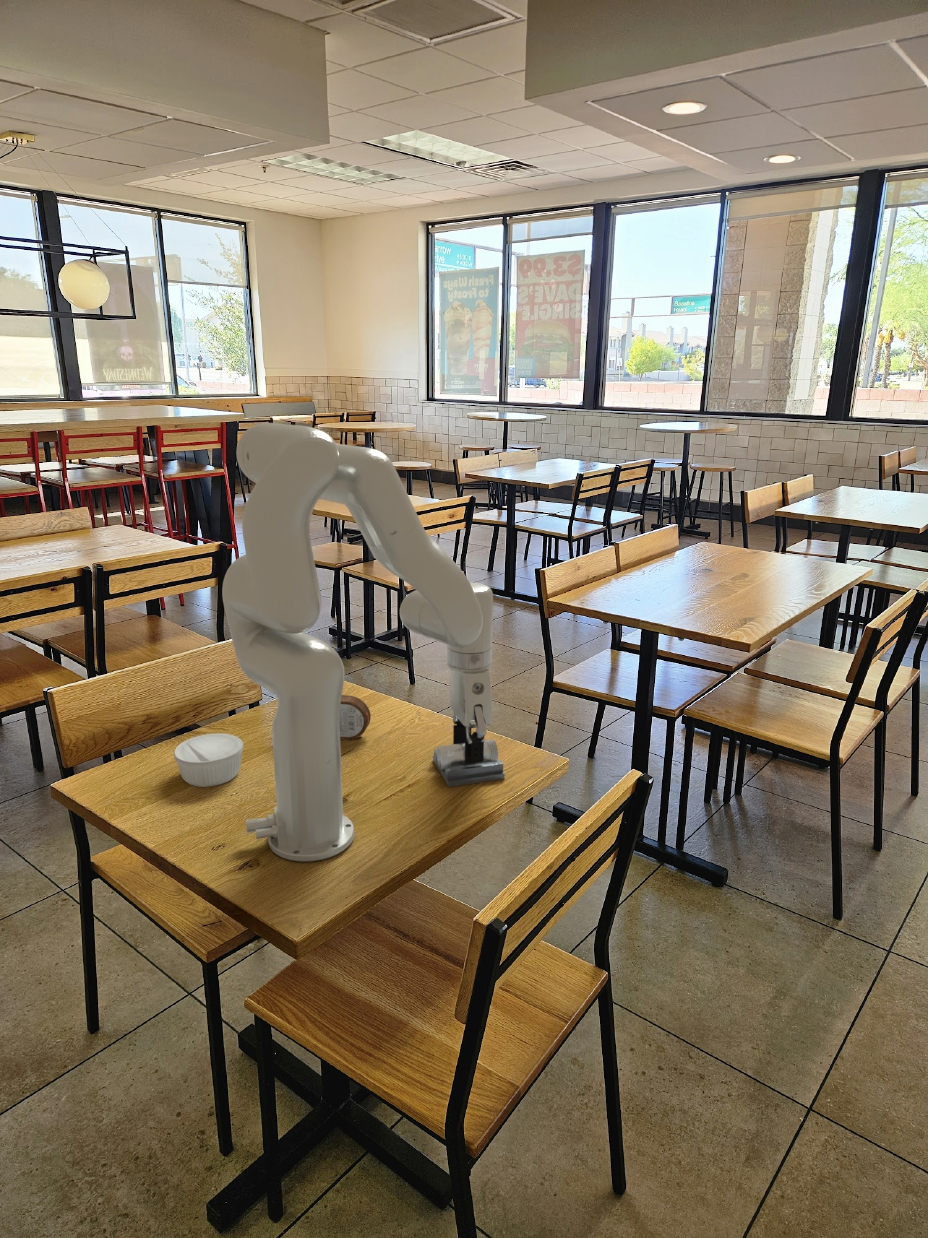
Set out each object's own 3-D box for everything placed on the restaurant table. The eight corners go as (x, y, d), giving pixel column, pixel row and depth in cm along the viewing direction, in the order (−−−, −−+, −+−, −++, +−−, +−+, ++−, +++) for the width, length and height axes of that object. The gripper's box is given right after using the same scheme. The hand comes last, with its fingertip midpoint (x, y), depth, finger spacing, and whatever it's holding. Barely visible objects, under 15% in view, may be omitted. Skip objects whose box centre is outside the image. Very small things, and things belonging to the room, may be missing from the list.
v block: (448, 787, 136) (448, 773, 135) (432, 760, 145) (432, 747, 144) (504, 778, 139) (504, 765, 138) (485, 753, 148) (485, 740, 147)
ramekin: (163, 784, 136) (159, 756, 134) (202, 755, 146) (199, 729, 144) (221, 795, 133) (218, 766, 131) (257, 765, 143) (255, 737, 141)
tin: (371, 735, 155) (370, 694, 152) (368, 742, 152) (366, 701, 149) (294, 731, 156) (292, 690, 154) (289, 738, 153) (287, 697, 151)
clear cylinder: (442, 773, 138) (442, 752, 137) (436, 763, 142) (436, 742, 141) (497, 766, 141) (498, 745, 140) (490, 755, 145) (490, 735, 143)
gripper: (508, 672, 129) (505, 773, 134) (474, 638, 144) (473, 730, 150) (463, 676, 127) (462, 779, 132) (434, 642, 142) (434, 735, 148)
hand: (468, 752), depth 141 cm, fingers open, 6 cm apart
